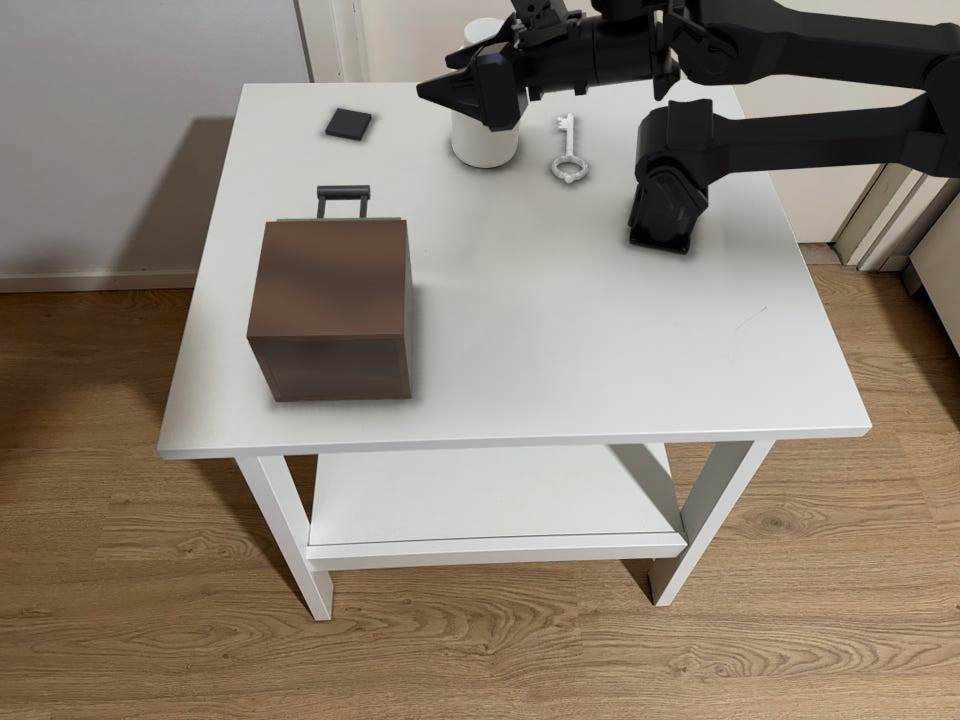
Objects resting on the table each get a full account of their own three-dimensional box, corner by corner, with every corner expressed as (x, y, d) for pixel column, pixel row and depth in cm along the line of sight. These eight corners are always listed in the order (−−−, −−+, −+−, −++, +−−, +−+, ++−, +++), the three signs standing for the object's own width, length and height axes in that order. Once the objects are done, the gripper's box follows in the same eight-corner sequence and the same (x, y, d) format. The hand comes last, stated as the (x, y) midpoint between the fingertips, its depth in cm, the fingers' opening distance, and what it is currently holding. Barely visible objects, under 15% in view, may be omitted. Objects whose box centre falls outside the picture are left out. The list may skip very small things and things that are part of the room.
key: (550, 183, 81) (587, 185, 81) (551, 177, 80) (588, 179, 80) (553, 116, 88) (587, 118, 88) (554, 110, 87) (588, 112, 87)
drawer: (300, 241, 75) (282, 178, 67) (408, 240, 75) (402, 177, 68) (282, 375, 66) (259, 319, 58) (405, 372, 66) (397, 317, 59)
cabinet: (290, 294, 72) (265, 221, 63) (413, 292, 72) (406, 219, 63) (275, 401, 65) (245, 336, 56) (411, 398, 66) (403, 333, 57)
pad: (371, 117, 87) (371, 113, 87) (360, 140, 85) (359, 136, 84) (338, 111, 88) (337, 107, 87) (325, 134, 85) (324, 130, 85)
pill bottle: (512, 174, 82) (520, 59, 70) (445, 164, 83) (441, 48, 70) (523, 130, 86) (533, 14, 74) (459, 121, 87) (458, 4, 74)
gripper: (600, -69, 64) (440, -38, 69) (571, -32, 50) (373, 5, 55) (611, 58, 71) (464, 79, 75) (588, 123, 56) (409, 143, 61)
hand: (432, 75), depth 67 cm, fingers open, 9 cm apart
